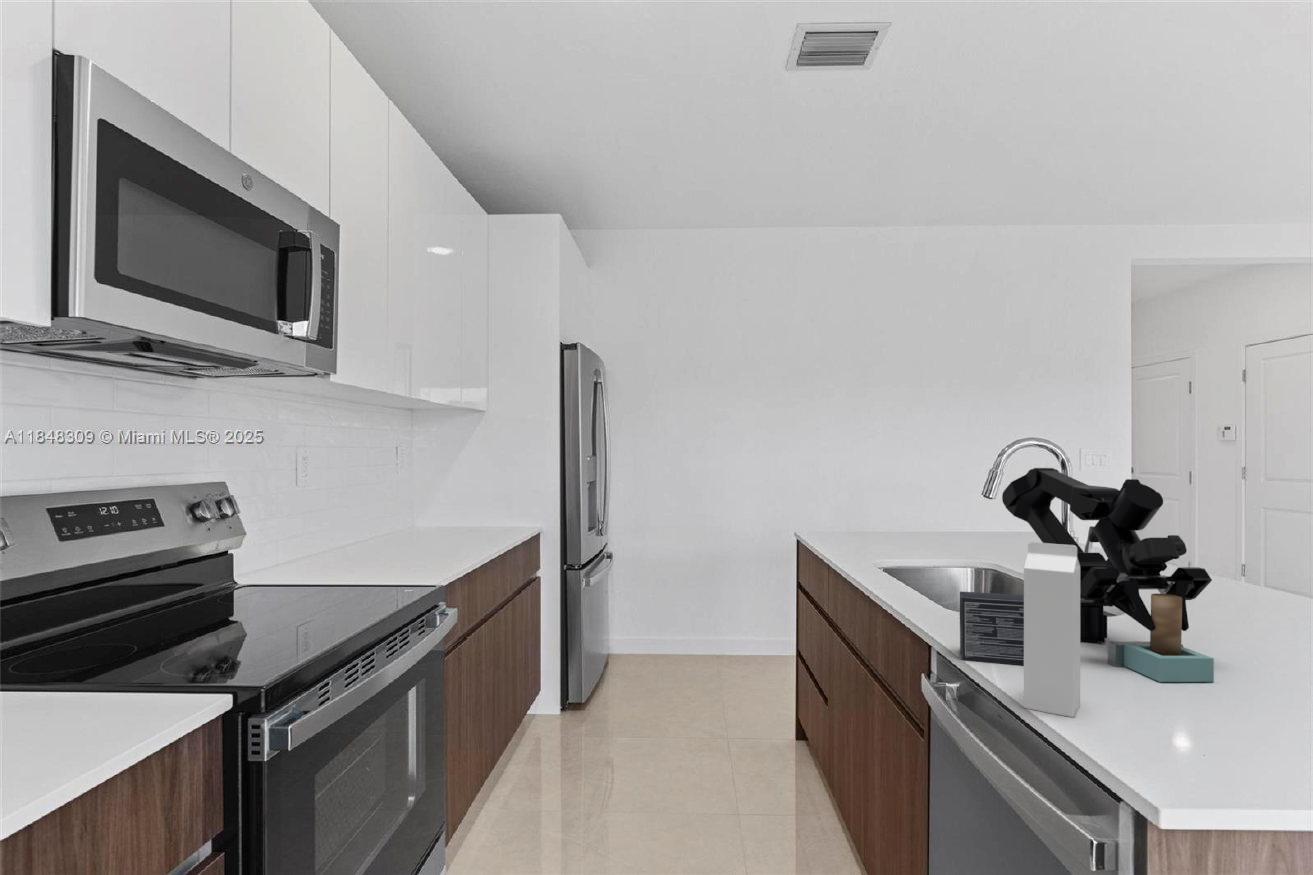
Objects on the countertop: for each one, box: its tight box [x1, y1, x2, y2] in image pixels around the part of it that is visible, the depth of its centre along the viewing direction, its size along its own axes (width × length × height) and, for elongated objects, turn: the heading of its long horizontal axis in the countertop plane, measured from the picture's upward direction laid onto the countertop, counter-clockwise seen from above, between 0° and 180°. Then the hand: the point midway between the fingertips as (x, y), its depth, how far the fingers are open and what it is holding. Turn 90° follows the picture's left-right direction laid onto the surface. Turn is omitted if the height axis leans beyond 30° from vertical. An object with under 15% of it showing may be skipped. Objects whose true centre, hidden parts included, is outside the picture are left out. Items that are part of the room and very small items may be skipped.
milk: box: [1023, 541, 1081, 718], centre depth 102 cm, size 6×6×22 cm
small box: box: [959, 591, 1024, 666], centre depth 125 cm, size 11×6×10 cm, turn 71°
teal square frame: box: [1124, 644, 1215, 683], centre depth 117 cm, size 8×8×4 cm
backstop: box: [1107, 641, 1184, 668], centre depth 122 cm, size 2×11×4 cm, turn 92°
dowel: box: [1149, 593, 1183, 656], centre depth 117 cm, size 4×4×12 cm
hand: (1169, 629), depth 116 cm, fingers open, 5 cm apart
